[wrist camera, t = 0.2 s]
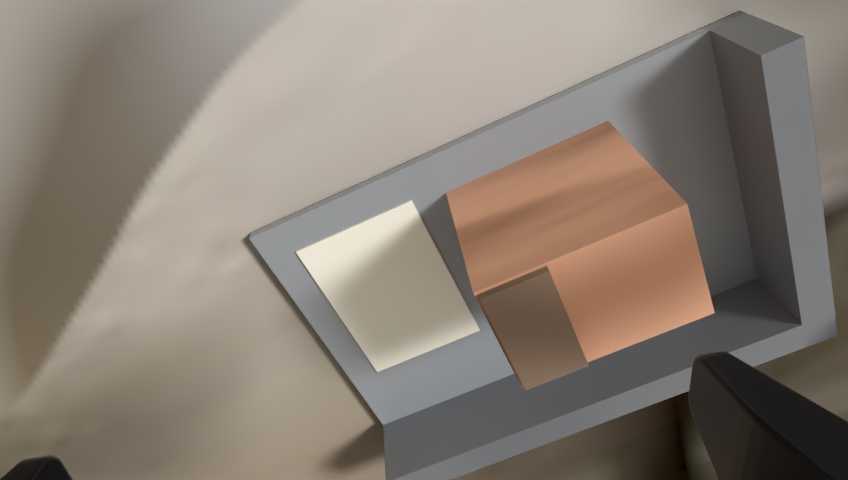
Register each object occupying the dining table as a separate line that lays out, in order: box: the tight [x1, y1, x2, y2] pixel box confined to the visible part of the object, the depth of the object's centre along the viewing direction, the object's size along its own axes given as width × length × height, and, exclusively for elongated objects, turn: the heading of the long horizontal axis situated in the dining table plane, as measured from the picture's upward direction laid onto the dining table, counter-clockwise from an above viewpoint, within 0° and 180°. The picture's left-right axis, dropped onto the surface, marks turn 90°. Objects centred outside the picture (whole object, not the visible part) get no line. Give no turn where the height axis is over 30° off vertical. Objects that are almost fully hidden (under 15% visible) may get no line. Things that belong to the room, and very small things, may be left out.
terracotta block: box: [446, 121, 715, 390], centre depth 20 cm, size 4×6×6 cm, turn 114°
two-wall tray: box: [249, 11, 837, 480], centre depth 23 cm, size 12×18×3 cm, turn 114°
